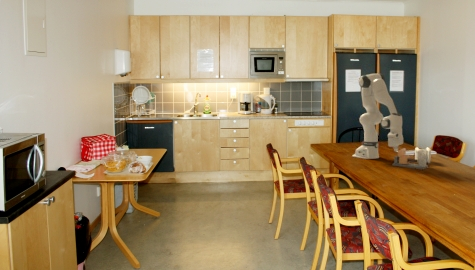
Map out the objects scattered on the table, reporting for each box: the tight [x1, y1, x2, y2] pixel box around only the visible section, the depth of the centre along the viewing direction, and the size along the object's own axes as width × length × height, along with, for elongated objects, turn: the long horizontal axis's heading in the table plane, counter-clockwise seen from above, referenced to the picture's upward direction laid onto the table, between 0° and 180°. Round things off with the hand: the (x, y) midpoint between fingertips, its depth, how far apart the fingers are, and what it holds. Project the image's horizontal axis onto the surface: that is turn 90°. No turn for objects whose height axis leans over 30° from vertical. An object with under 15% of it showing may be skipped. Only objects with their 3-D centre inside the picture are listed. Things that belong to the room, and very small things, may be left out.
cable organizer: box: [414, 146, 432, 165], centre depth 362 cm, size 15×11×12 cm
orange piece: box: [397, 147, 411, 164], centre depth 350 cm, size 6×12×11 cm, turn 137°
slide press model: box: [392, 154, 429, 170], centre depth 348 cm, size 24×10×7 cm, turn 47°
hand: (395, 151), depth 355 cm, fingers closed
